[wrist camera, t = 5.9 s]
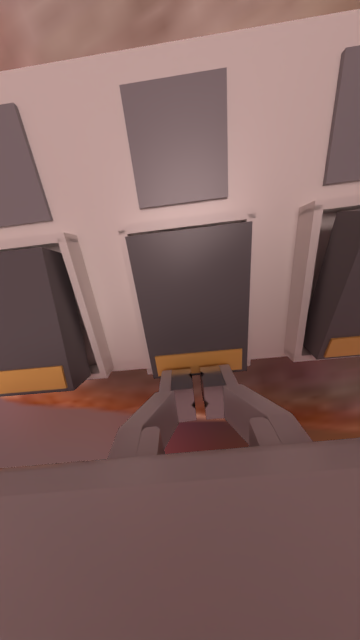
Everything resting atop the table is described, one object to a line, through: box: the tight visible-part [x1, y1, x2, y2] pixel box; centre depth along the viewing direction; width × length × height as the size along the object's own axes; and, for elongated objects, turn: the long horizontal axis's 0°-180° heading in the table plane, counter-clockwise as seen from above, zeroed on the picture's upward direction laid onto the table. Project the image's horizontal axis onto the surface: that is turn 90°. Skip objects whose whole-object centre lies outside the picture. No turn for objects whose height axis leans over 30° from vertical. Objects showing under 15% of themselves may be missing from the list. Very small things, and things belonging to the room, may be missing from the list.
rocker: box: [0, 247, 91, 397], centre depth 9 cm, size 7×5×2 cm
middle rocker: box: [125, 221, 252, 379], centre depth 9 cm, size 7×5×2 cm
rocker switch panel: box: [0, 9, 360, 380], centre depth 10 cm, size 15×28×5 cm, turn 96°
